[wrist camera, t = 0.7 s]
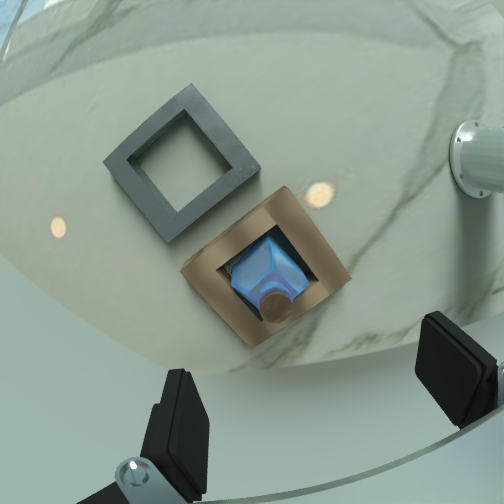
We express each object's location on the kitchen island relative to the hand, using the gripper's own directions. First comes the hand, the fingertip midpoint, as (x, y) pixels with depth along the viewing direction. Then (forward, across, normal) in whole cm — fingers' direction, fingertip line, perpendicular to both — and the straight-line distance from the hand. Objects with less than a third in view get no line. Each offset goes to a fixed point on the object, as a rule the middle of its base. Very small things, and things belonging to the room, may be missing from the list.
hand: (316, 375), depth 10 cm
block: (+28, +8, -10) cm, 31 cm away
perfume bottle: (+28, 0, +6) cm, 29 cm away
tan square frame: (+28, 0, +6) cm, 29 cm away
